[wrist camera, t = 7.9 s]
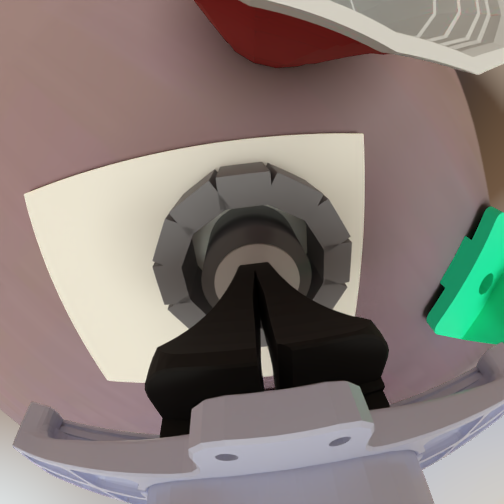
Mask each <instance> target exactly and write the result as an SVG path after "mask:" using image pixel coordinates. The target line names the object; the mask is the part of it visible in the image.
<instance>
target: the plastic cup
mask: <svg viewBox="0 0 504 504" xmlns="http://www.w3.org/2000/svg"><path fill="white" fill-rule="evenodd" d="M194 1H195V2H196V4H197V5H198V6H199V7H200V9H201V10H202V11H203V13H204V14H205V15H206V17H207V18H208V19H209V21H210V22H211V23H212V24H213V26H214V27H215V28H216V29H217V30H218V32H219V33H220V34H221V35H222V37H223V38H224V39H225V40H226V42H227V43H229V44H230V45H231V47H232V48H233V49H234V51H235V52H237V53H239V54H240V55H242V56H244V57H245V58H247V59H249V60H250V61H252V62H254V63H257V64H262V65H266V66H270V67H274V68H281V67H294V66H301V65H304V64H315V63H320V62H324V61H329V60H334V59H339V58H344V57H350V56H355V55H362V54H369V53H374V54H383V55H384V54H395V55H401V56H406V57H411V58H416V59H420V60H425V61H429V62H433V63H437V64H440V65H444V66H447V67H451V68H454V69H457V70H461V71H465V72H469V73H473V74H477V75H479V74H481V73H483V72H485V71H488V70H490V69H492V68H495V67H497V66H499V65H502V64H504V0H194Z"/></svg>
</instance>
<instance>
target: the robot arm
mask: <svg viewBox="0 0 504 504" xmlns="http://www.w3.org/2000/svg"><path fill="white" fill-rule="evenodd" d="M261 323H262V327H263V331H264V335H265V339H266V343H267V346H268V350H269V354H270V358H271V363H272V369H273V376H274V383H275V390H270V391H264V383H263V375H262V366H261ZM388 352H389V349H388V345H387V342H386V341H385V339H384V337H383V336H382V334H381V333H380V331H379V330H378V328H377V327H376V326H375V325H374V323H373V322H372V321H371V320H368V319H364V318H359V317H355V316H351V315H347V314H344V313H341V312H338V311H335V310H333V309H330V308H328V307H325V306H323V305H321V304H319V303H317V302H315V301H313V300H311V299H310V298H308V297H306V296H305V295H303V294H302V293H300V292H299V291H297V290H296V289H295V288H294V287H292V286H291V285H290V284H289V283H288V282H287V281H286V280H285V279H284V278H282V277H281V276H280V275H279V273H278V272H277V271H276V270H275V269H274V268H273V267H272V265H271V264H270V263H269V262H262V263H254V264H246V265H240V266H239V267H238V268H237V271H236V273H235V275H234V277H233V279H232V281H231V283H230V285H229V286H228V288H227V290H226V291H225V293H224V294H223V295H222V297H221V298H220V300H219V301H218V302H217V304H216V305H215V306H214V307H213V308H212V309H211V311H210V312H209V313H208V314H207V315H205V316H204V317H203V318H202V319H201V320H200V321H199V322H197V323H196V324H195V325H194V326H192V327H191V328H190V329H188V330H187V331H185V332H184V333H182V334H181V335H179V336H178V337H176V338H174V339H172V340H170V341H169V342H167V343H165V344H163V345H161V346H159V347H157V349H156V351H155V354H154V356H153V358H152V361H151V363H150V366H149V370H148V374H147V377H146V381H145V391H146V394H147V396H148V398H149V399H150V401H151V402H152V404H153V405H154V407H155V408H156V409H157V411H158V412H159V414H160V415H161V416H162V418H163V419H162V425H161V431H160V435H154V434H143V433H134V432H126V431H118V430H112V429H106V428H100V427H95V426H90V425H85V424H81V423H76V422H72V421H68V420H64V419H63V418H62V417H61V416H60V415H59V413H58V412H56V411H55V410H54V409H53V408H51V407H49V406H46V405H43V404H39V403H36V402H31V403H30V405H29V407H28V409H27V412H26V414H25V416H24V418H23V421H22V423H21V425H20V428H19V430H18V432H17V435H16V437H15V440H14V443H13V448H14V449H16V450H17V451H18V452H19V453H21V454H22V455H23V456H25V457H26V458H27V459H29V460H30V461H31V462H33V463H34V464H36V465H37V466H38V467H40V468H41V469H43V470H44V471H46V472H47V473H49V474H50V475H52V476H54V477H56V478H59V479H61V480H64V481H66V482H68V483H71V484H73V485H76V486H79V487H81V488H84V489H87V490H89V491H92V492H95V493H98V494H101V495H104V496H107V497H110V498H113V499H116V500H120V501H124V502H127V503H131V504H434V501H433V499H432V496H431V493H430V490H429V487H428V485H427V482H426V479H425V477H424V474H423V471H422V470H423V469H425V468H426V467H428V466H430V465H432V464H434V463H435V462H437V461H439V460H441V459H442V458H444V457H446V456H447V455H449V454H450V453H452V452H454V451H455V450H457V449H458V448H460V447H461V446H463V445H464V444H466V443H467V442H469V441H470V440H472V439H473V438H474V437H475V436H477V435H478V434H480V433H481V432H482V431H484V430H485V429H487V428H488V427H489V426H491V425H492V424H493V423H495V422H496V421H497V420H498V419H500V418H501V417H502V416H503V415H504V343H503V342H500V343H499V344H497V345H495V346H494V347H492V348H490V349H488V350H487V351H486V352H485V353H484V354H483V355H482V356H481V358H480V360H479V361H478V363H477V366H476V367H474V368H473V369H471V370H469V371H467V372H465V373H463V374H461V375H459V376H457V377H455V378H453V379H451V380H449V381H447V382H445V383H443V384H441V385H439V386H437V387H434V388H432V389H430V390H427V391H425V392H423V393H420V394H418V395H415V396H413V397H410V398H408V399H405V400H402V401H399V402H397V403H394V404H391V405H389V403H388V401H387V399H386V396H385V394H384V392H383V390H384V388H385V385H384V383H383V381H382V379H381V375H382V373H383V370H384V367H385V364H386V361H387V358H388Z"/></svg>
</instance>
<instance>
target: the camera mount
mask: <svg viewBox="0 0 504 504" xmlns="http://www.w3.org/2000/svg"><path fill="white" fill-rule="evenodd" d="M440 283H441V284H442V285H443V286H444V287H445V289H444V291H443V293H442V294H441V296H440V297H439V299H438V300H437V302H436V303H435V305H434V306H433V308H432V309H431V311H430V312H429V314H428V316H427V323H428V324H429V325H430V327H431V328H432V329H433V331H434V332H435V333H436V334H439V335H443V336H448V337H453V338H458V339H463V340H469V341H476V342H483V343H490V344H499V343H500V342H503V343H504V213H503V212H501V211H500V210H498V209H496V208H494V207H491V206H490V207H488V208H487V209H486V210H485V212H484V214H483V217H482V219H481V221H480V223H479V226H478V228H477V230H476V232H475V234H474V236H473V238H472V240H471V239H469V238H468V237H466V236H465V237H464V239H463V241H462V243H461V245H460V247H459V249H458V251H457V253H456V255H455V257H454V258H453V260H452V262H451V264H450V266H449V268H448V269H447V271H446V273H445V274H444V276H443V278H442V280H441V281H440Z"/></svg>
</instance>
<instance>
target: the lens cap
mask: <svg viewBox="0 0 504 504" xmlns="http://www.w3.org/2000/svg"><path fill="white" fill-rule="evenodd" d="M262 262H269V263H270V264H271V265H272V267H273V268H274V269H275V270H276V271H277V272H278V273H279V275H280V276H281V277H282V278H284V279H285V280H286V281H287V282H288V283H289V284H290V285H291V286H292V287H294V288H295V289H296V290H297V291H299V292H300V293H302V294H303V295H305V296H306V295H307V293H308V291H309V288H310V284H311V278H312V274H311V266H310V262H309V259H308V257H307V255H306V253H305V252H304V250H303V248H302V246H301V244H300V242H299V240H298V239H297V237H296V235H295V233H294V231H293V229H292V228H291V226H290V224H289V222H288V221H287V220H286V218H285V217H284V216H283V215H282V214H280V213H279V212H278V211H276V210H274V209H273V208H270V207H268V206H264V205H261V206H252V207H244V208H236V209H231V210H229V211H227V212H226V213H225V214H223V215H222V216H221V217H220V218H219V219H218V220H217V222H216V223H215V225H214V226H213V228H212V230H211V233H210V237H209V241H208V246H207V251H206V255H205V260H204V265H203V270H202V277H201V282H202V288H203V292H204V295H205V297H206V299H207V301H208V302H209V304H210V305H211V306H212V307H214V306H215V305H216V304H217V302H218V301H219V300H220V298H221V297H222V295H223V294H224V293H225V291H226V290H227V288H228V286H229V285H230V283H231V281H232V279H233V277H234V275H235V273H236V271H237V268H238V267H239V266H240V265H246V264H254V263H262ZM261 324H262V323H261Z"/></svg>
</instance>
